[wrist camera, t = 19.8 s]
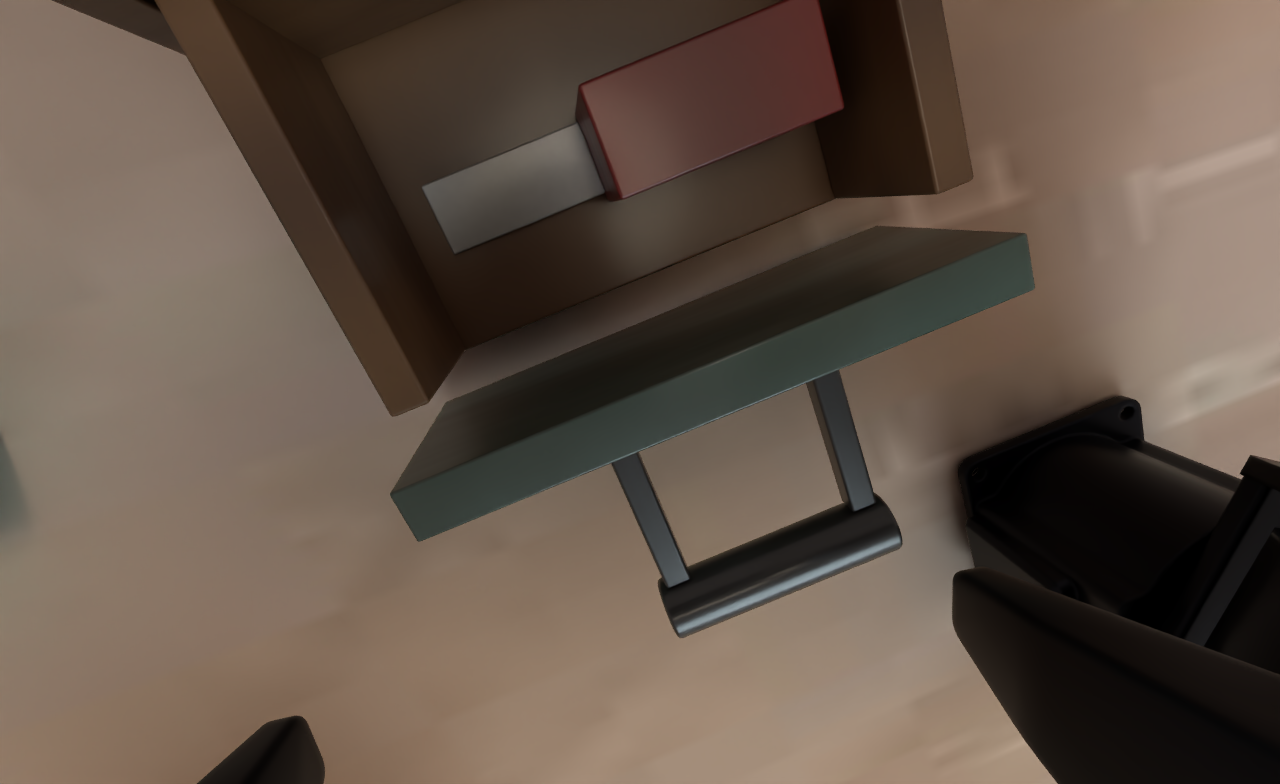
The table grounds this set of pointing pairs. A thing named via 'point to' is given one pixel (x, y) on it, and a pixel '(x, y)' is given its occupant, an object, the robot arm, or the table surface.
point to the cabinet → (130, 18)
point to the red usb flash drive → (653, 123)
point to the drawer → (601, 246)
